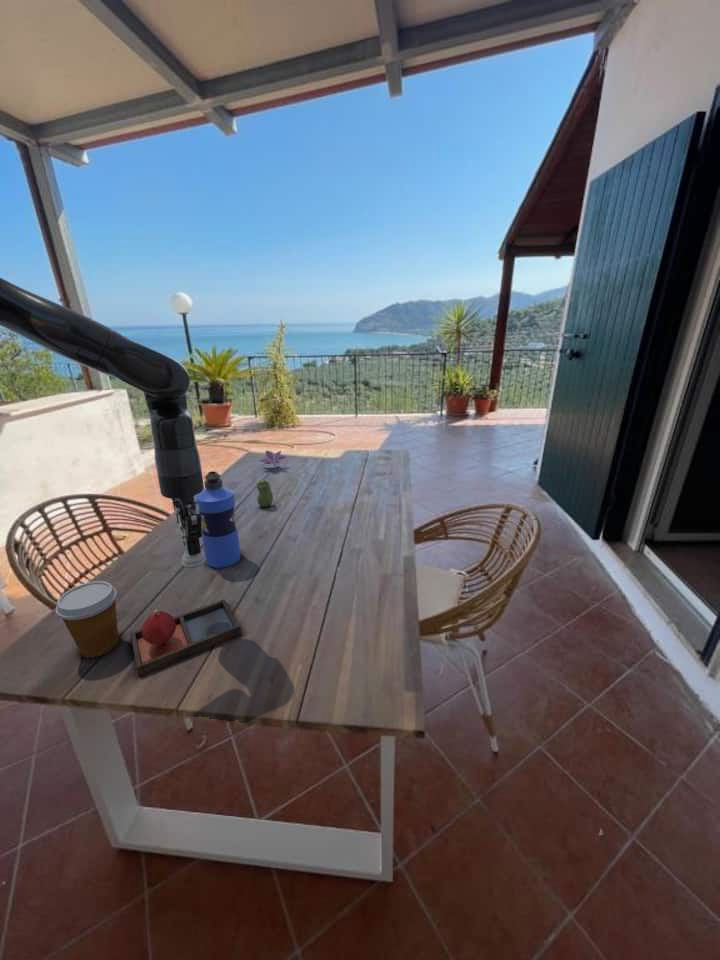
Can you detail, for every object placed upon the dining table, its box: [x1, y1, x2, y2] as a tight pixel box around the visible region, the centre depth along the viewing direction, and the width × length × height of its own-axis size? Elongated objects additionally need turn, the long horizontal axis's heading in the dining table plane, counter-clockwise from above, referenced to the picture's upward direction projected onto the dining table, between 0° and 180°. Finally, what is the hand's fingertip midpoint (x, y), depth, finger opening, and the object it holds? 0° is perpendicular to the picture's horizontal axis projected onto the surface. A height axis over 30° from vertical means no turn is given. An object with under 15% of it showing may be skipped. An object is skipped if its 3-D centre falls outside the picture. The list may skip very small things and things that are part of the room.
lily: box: [259, 450, 288, 473], centre depth 177 cm, size 12×12×10 cm
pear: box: [256, 479, 274, 508], centre depth 138 cm, size 6×5×10 cm
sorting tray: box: [129, 598, 242, 677], centre depth 78 cm, size 19×11×2 cm, turn 125°
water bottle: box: [195, 471, 242, 569], centre depth 102 cm, size 9×9×25 cm
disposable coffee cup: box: [55, 580, 119, 658], centre depth 74 cm, size 10×10×12 cm
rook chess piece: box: [180, 529, 206, 569], centre depth 78 cm, size 4×4×8 cm
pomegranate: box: [141, 609, 176, 645], centre depth 74 cm, size 6×6×8 cm
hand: (192, 549), depth 78 cm, fingers closed on rook chess piece, 3 cm apart
